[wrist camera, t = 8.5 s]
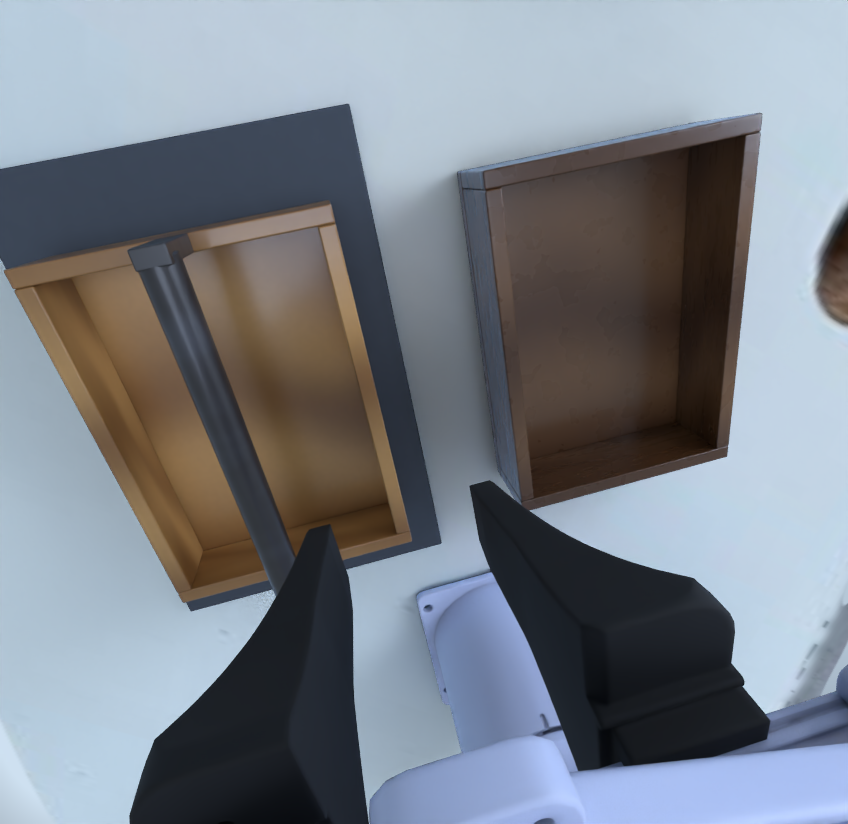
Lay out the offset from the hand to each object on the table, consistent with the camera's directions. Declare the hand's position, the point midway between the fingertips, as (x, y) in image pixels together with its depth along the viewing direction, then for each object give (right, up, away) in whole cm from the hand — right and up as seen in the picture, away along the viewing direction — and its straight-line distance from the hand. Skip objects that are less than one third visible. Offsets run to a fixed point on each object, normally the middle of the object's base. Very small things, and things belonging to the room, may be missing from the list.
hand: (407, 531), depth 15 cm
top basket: (-7, +4, +7) cm, 10 cm away
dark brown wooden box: (+8, +8, +8) cm, 14 cm away
